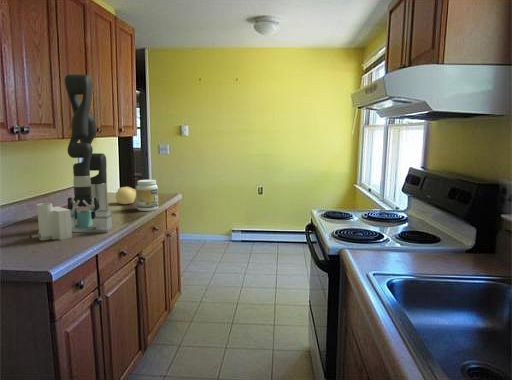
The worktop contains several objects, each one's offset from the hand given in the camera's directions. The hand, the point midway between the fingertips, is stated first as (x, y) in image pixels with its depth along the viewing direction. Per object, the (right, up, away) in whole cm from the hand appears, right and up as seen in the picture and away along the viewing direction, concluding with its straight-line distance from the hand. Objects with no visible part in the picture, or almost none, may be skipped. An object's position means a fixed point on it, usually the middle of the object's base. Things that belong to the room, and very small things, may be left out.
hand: (84, 218), depth 183 cm
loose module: (0, -3, +1) cm, 4 cm away
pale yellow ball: (+1, +5, +57) cm, 58 cm away
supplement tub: (+19, +2, +40) cm, 45 cm away
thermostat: (-6, -7, -21) cm, 23 cm away
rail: (+5, -5, -9) cm, 11 cm away
